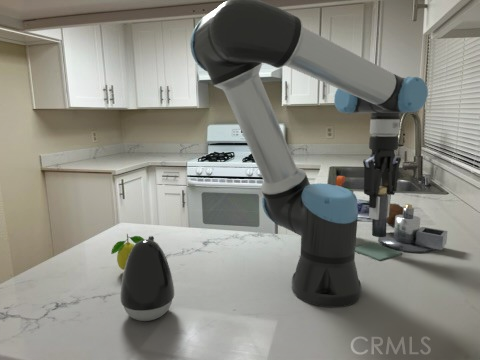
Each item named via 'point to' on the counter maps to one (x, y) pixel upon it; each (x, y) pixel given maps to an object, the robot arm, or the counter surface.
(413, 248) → the base
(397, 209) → the potato
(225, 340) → the counter surface
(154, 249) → the black egg-shaped pod
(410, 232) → the grey cylinder with box
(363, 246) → the mat
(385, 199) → the gold capped bottle
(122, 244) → the lemon
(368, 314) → the counter surface
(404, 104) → the robot arm
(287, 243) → the counter surface
